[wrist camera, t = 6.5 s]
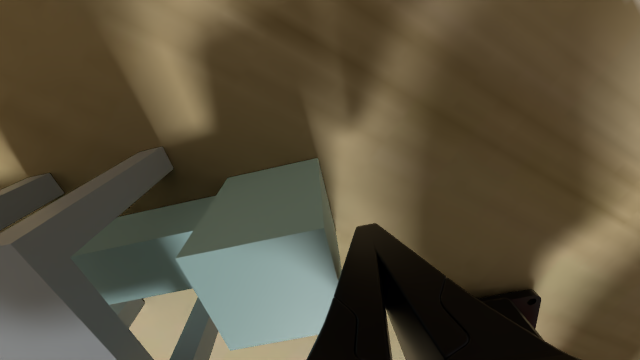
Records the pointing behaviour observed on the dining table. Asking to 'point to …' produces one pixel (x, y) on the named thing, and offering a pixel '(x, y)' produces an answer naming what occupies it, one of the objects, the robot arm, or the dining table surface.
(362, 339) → the robot arm
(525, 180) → the dining table surface
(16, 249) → the cover
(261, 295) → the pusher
